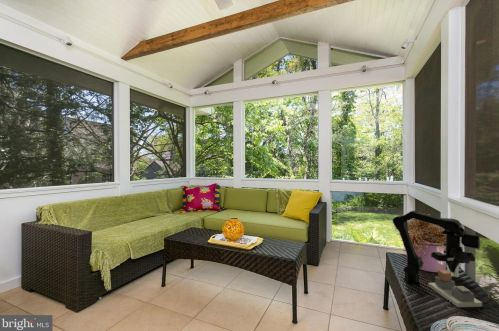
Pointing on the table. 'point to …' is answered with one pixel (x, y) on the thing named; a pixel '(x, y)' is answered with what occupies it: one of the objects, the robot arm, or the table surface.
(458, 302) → the console
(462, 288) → the plunger
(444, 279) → the terracotta plunger
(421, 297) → the table surface
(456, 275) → the beer glass
